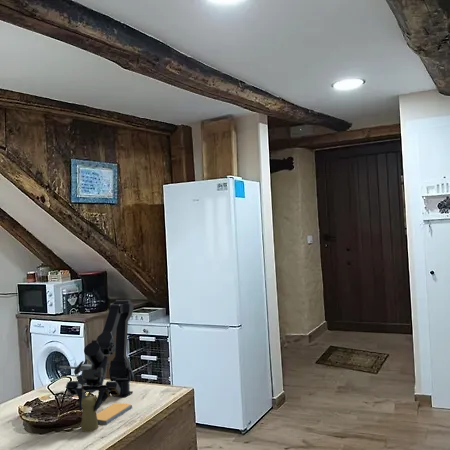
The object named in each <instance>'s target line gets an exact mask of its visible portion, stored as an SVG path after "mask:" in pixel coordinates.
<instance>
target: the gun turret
mask: <svg viewBox="0 0 450 450" xmlns="http://www.w3.org/2000/svg"><path fill="white" fill-rule="evenodd" d="M88 361H89V360H88V358H87V359H85V360H81V362H79V364H78V365H77V366H69V365H68V366H67V365H59V366H58V367H57V368H58V369H69V370H73V373H74V375H75V376H76V375H77V376H76V381H79V383H80V384H82V385H86V383H85V382H84V379H82V372H83V370H89V369H91V365H92V364H91V363H88ZM79 373H81V374H79ZM86 392H89V394H93V393H95V392H96V391H85V392H84V393H86Z"/></svg>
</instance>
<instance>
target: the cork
mask: <svg viewBox="0 0 450 450" xmlns="http://www.w3.org/2000/svg"><path fill="white" fill-rule="evenodd" d="M96 401H97V397H95V396H94V395H86V397H84V398H83V399H82V401H81V405H82V406H83V409H82V416H81V424H80V425H81V426H80V430H81V431H82V432H86V433H87V432H94V431H96V430H97V429H99V423H98V421H97V415H96V414H97V411H96V412H95V411H94V408H95V404H96Z"/></svg>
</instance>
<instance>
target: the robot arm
mask: <svg viewBox="0 0 450 450" xmlns="http://www.w3.org/2000/svg"><path fill="white" fill-rule="evenodd" d="M134 305H135V304H134V302H132V300H131V299H116V300H115V301H114V302H112V303H110V305H109V306H108V313H107V317H106V320H105V322H104V327H103V329H102V332H101V333H100V334H99V335H97V337H96V339H95V340H93V339H92V340H91V342H90V343H88V344H86V346H85V347H84V349H83V353H84V355H85V358H87V360H88V361H89V362H90V363H89V364H90V365H91V369H89V370H83V372H82V371H81V374H82V379H84V382H85V383H86V385H82V384H80V383H79V381H78V380H69V381H68V382H67V383H66V384H65V389H66V390H67V392H68V394H70V395H72V396H77V397H78V408H79V409H78V410H79V412H83V406H82V405H81V401H82V399H83V398H84V397H86V396H87V394H85V393H84V392H85V391H95V392H98V395H97V397H96V404H95V408H94V411H95V412H96V413H97V411H98V409H99V408H100V407H101V406H102V404H103V403H104V402H106V400H107V399H108V398H111V396H112V397H116V398H117V397H118V398H126V397H128V396H131V394H133V393H134V391H133V390H132V391H131V389H130V382H132V381H134V377H135V376H134V371H133V369H132V367H131V362H130V360H129V358H128V356H127V350H128V326H129V320H130V318H131V317H132V315H133V311H134ZM114 338H115V339H114ZM114 353H115V354H114ZM113 354H114V357H113V359H112V360H110V362H109V358H108V357H107V356H111V355H113ZM108 366H109V369H108V370H109V372H108V374H109V379H110V380H109V381H108V380H107V381H106V382H105V384H104V381H105V379H106V373H107V368H108Z"/></svg>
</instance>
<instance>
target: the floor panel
mask: <svg viewBox="0 0 450 450" xmlns="http://www.w3.org/2000/svg"><path fill="white" fill-rule="evenodd" d="M131 409H133V405H132V404H131V403H122V402H113V403H112V404H110V405H109V406H107V407H106V408H104V409H102V410H100V411H98V412H96V415H97V421H98V425H106V426H107V425H108V424H110V423H111V422H113V421H115V420H116V419H117V418H120V416H122V415H124V414H125V413H127V412H129V411H131ZM114 419H115V420H114Z"/></svg>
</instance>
